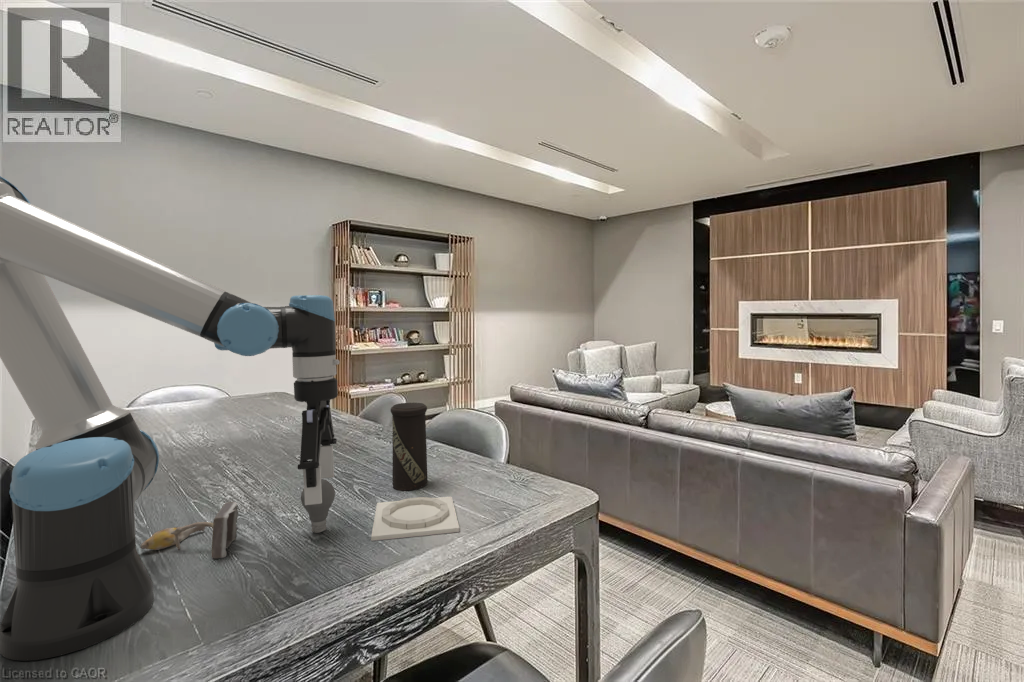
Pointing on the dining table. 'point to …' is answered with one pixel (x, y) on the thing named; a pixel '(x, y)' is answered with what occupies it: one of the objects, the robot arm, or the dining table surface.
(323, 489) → the light bulb
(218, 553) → the decorative sculpture
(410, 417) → the container
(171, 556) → the dining table surface
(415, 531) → the socket
